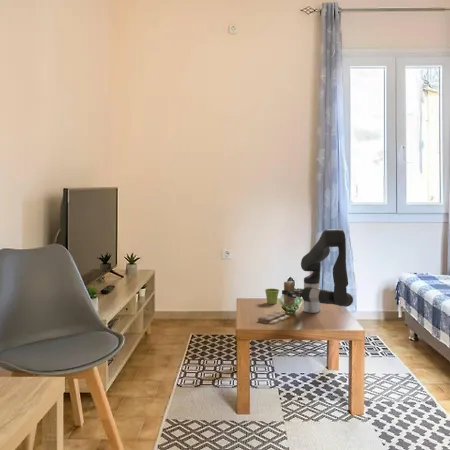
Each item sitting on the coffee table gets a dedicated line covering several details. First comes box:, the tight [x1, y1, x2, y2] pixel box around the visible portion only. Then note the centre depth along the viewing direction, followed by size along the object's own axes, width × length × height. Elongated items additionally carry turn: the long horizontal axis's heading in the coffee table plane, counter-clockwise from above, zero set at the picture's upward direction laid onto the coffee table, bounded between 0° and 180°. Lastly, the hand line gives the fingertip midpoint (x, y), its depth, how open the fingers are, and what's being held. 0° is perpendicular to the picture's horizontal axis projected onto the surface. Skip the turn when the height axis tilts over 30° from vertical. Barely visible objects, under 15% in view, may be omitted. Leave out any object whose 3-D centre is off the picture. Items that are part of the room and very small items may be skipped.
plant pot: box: [264, 288, 280, 305], centre depth 304 cm, size 9×9×9 cm
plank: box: [283, 280, 296, 306], centre depth 252 cm, size 4×5×12 cm
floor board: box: [257, 311, 290, 325], centre depth 264 cm, size 18×10×2 cm, turn 143°
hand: (285, 291), depth 254 cm, fingers closed on plank, 5 cm apart
